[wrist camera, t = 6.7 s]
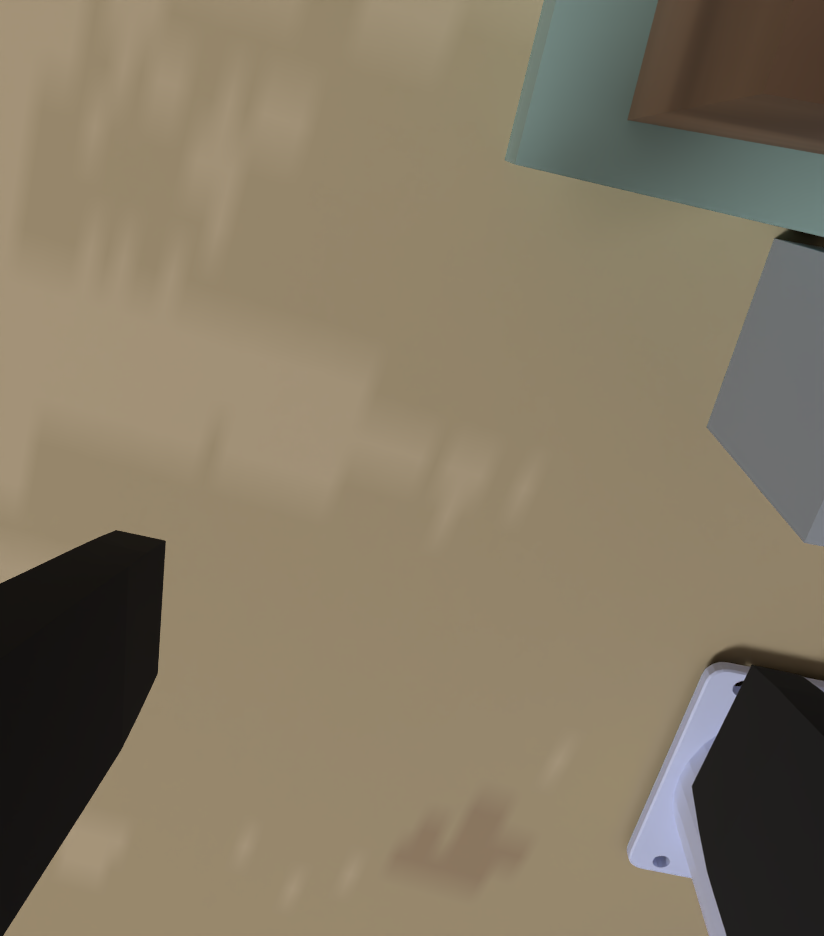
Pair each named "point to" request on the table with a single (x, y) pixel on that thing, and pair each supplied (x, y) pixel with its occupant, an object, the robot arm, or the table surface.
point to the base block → (644, 126)
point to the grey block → (781, 389)
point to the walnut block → (736, 71)
